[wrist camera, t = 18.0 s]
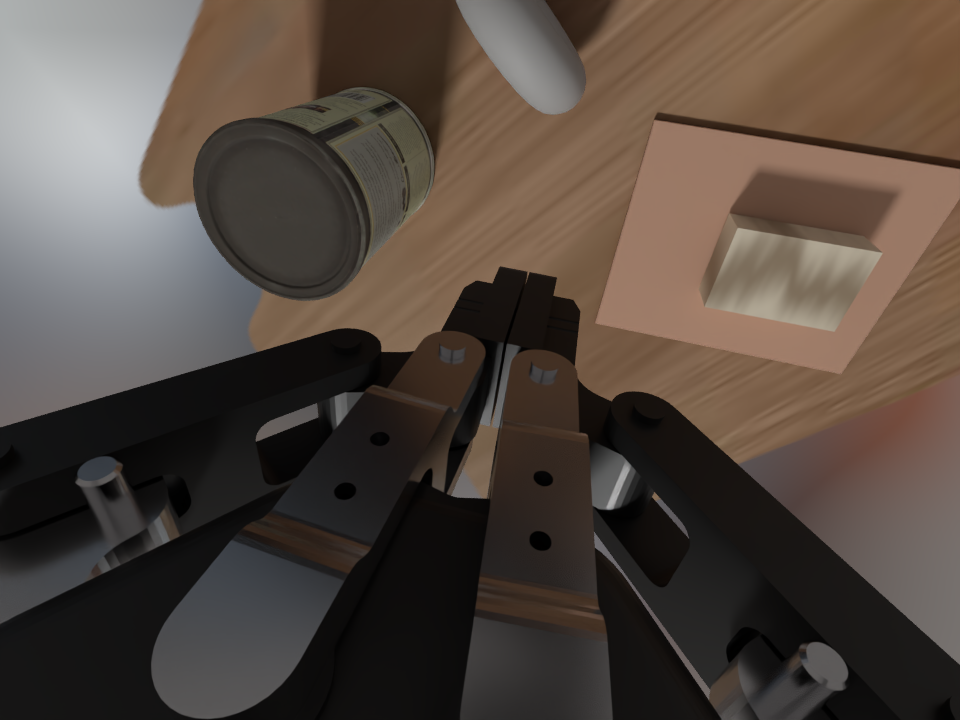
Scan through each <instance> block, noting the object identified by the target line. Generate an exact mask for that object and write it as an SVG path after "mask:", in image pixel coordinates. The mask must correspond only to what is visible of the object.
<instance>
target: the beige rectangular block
mask: <svg viewBox="0 0 960 720" xmlns="http://www.w3.org/2000/svg"><path fill="white" fill-rule="evenodd" d="M882 254H883V253H882V252H881V251H880V250H879V249H878V248H877V247H876V246H875V245H873V244H872V243H871V242H870V241H869V240H868V239H867V238H866V237H864V236H860V235H854V234H848V233H843V232H837V231H831V230H825V229H819V228H813V227H807V226H801V225H796V224H790V223H784V222H778V221H772V220H766V219H760V218H754V217H749V216H743V215H737V214H731V213H729V215H728V217H727V220H726V222H725V225H724V227H723V230H722V232H721V235H720V237H719V240H718V242H717V245H716V247H715V250H714V252H713V255H712V257H711V259H710V262H709V264H708V267H707V269H706V272H705V274H704V277H703V279H702V282H701V284H700V287H699V291H700V294H701V298H702V301H703V304H704V307H707V308H713V309H718V310H723V311H728V312H734V313H739V314H744V315H749V316H755V317H760V318H765V319H770V320H775V321H781V322H786V323H791V324H796V325H802V326H807V327H812V328H817V329H822V330H828V331H833V332H835V330H836V328H837V327H838V325H839V324H840V322H841V320H842V319H843V317H844V315H845V314H846V312H847V311H848V309H849V307H850V306H851V304H852V302H853V301H854V299H855V298H856V296H857V294H858V293H859V291H860V289H861V288H862V286H863V285H864V283H865V281H866V280H867V278H868V276H869V275H870V273H871V272H872V270H873V268H874V267H875V265H876V263H877V262H878V260H879V259H880V257H881V255H882Z"/></svg>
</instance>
